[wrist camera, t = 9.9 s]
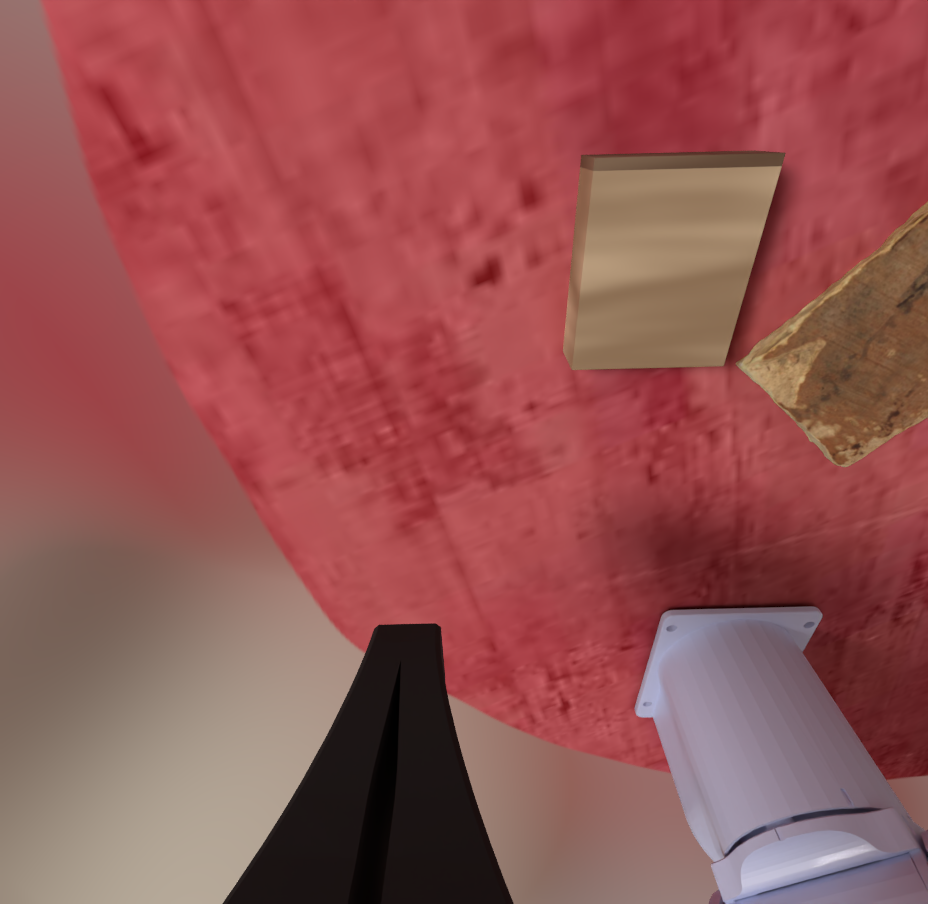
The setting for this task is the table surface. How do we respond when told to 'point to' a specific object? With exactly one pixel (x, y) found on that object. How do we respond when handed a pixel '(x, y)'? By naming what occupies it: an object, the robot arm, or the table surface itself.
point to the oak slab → (664, 255)
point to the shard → (856, 351)
